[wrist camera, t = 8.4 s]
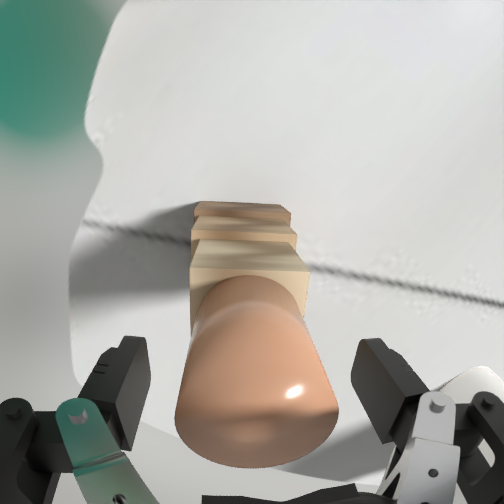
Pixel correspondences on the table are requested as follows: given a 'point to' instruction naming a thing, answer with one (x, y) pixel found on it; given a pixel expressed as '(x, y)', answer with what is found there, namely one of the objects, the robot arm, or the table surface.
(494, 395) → the robot arm
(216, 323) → the cylinder
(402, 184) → the table surface
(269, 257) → the tower top
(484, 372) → the cylinder
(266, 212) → the tower base
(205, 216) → the tower mid
